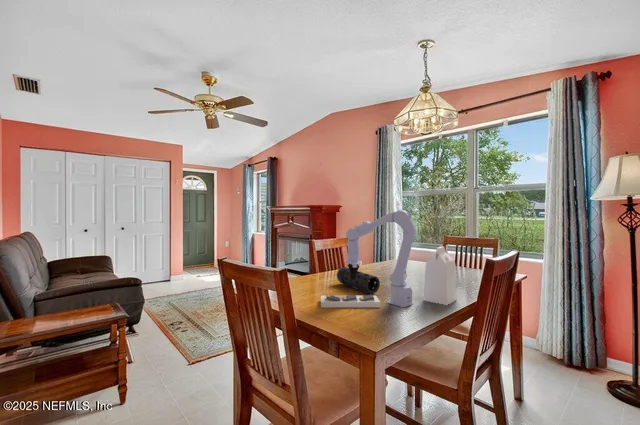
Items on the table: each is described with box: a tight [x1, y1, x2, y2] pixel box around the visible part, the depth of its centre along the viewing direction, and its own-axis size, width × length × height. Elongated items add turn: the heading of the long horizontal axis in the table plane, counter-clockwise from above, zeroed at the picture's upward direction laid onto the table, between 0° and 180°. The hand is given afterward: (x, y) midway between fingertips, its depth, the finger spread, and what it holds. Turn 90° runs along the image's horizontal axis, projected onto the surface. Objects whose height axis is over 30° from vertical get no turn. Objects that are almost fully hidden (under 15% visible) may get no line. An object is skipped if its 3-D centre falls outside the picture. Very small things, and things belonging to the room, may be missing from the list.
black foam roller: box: [335, 266, 381, 296], centre depth 171 cm, size 10×28×10 cm, turn 32°
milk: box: [422, 246, 457, 306], centre depth 151 cm, size 12×12×26 cm
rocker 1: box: [325, 294, 339, 301], centre depth 144 cm, size 6×4×1 cm, turn 90°
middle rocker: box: [343, 294, 357, 301], centre depth 144 cm, size 6×4×1 cm, turn 90°
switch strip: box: [320, 295, 381, 308], centre depth 145 cm, size 27×10×3 cm, turn 90°
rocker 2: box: [360, 294, 374, 301], centre depth 144 cm, size 6×4×1 cm, turn 90°
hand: (353, 279), depth 155 cm, fingers closed
